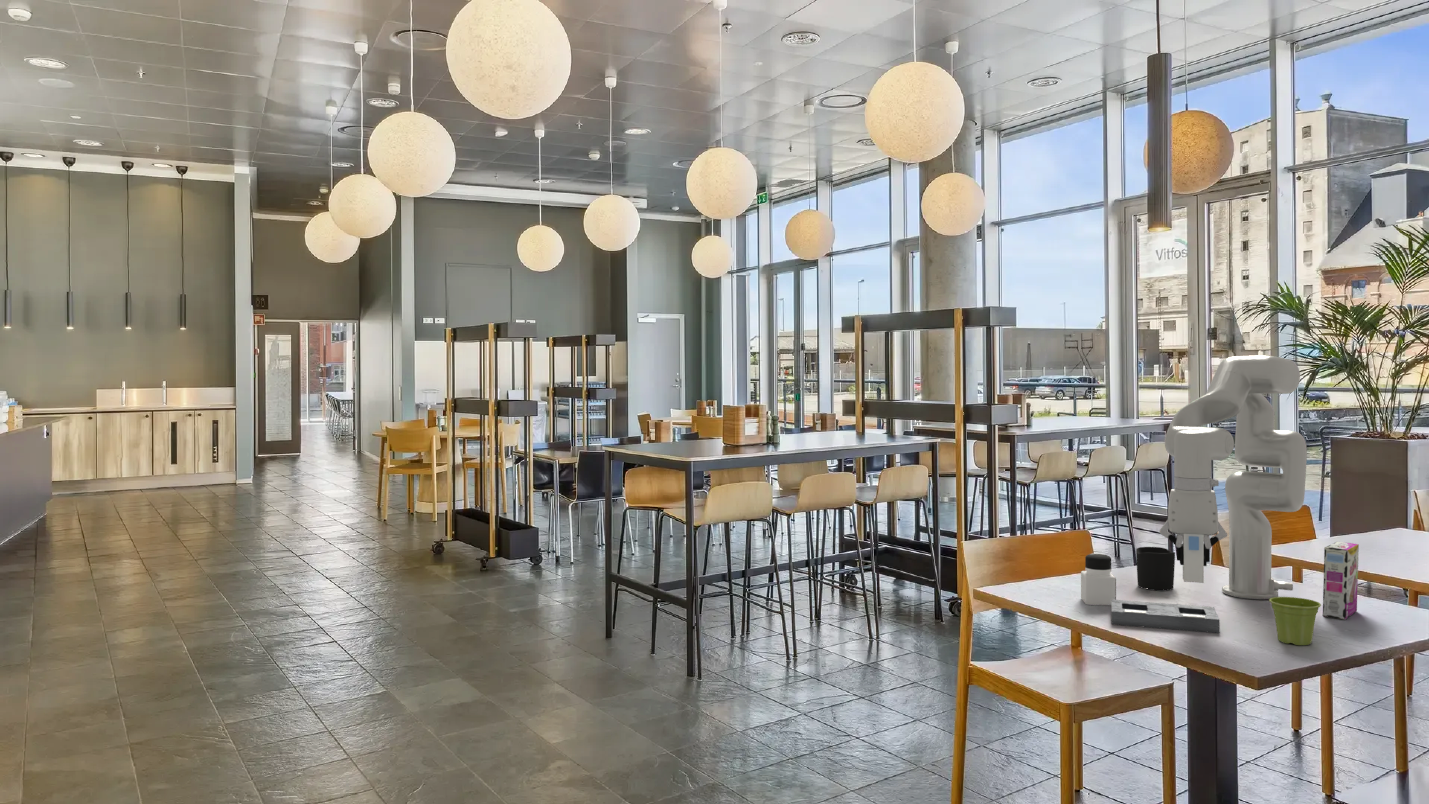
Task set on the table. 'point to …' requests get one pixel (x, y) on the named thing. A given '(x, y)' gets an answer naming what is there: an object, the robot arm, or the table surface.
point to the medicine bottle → (1098, 580)
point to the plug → (1193, 558)
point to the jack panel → (1165, 616)
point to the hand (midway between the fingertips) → (1193, 563)
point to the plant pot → (1294, 619)
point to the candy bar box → (1340, 580)
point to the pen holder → (1155, 568)
